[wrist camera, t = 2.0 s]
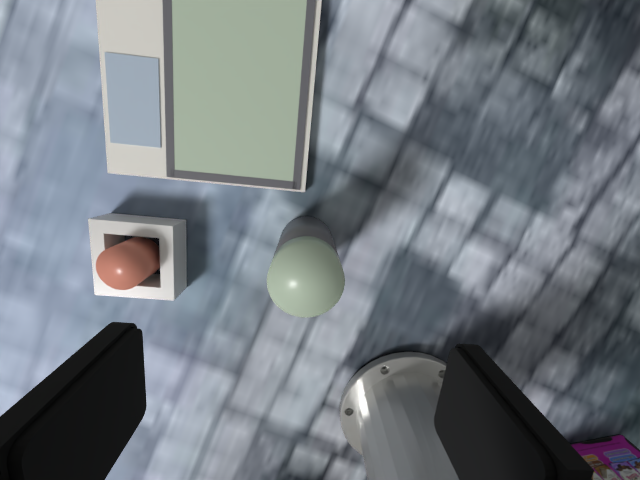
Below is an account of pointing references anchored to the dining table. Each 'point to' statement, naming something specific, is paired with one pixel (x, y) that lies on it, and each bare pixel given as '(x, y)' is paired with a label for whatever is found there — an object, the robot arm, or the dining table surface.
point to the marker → (305, 269)
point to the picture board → (209, 89)
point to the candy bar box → (611, 458)
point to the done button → (128, 263)
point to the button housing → (168, 230)
